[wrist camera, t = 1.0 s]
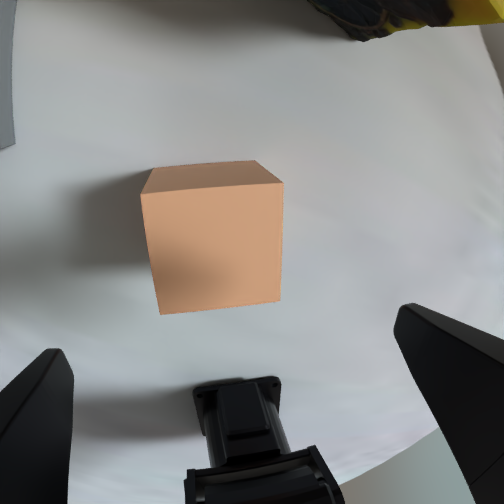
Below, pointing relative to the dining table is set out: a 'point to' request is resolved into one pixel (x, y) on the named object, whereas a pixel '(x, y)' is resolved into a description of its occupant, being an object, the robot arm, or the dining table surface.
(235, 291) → the block
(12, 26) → the base
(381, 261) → the dining table surface
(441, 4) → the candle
